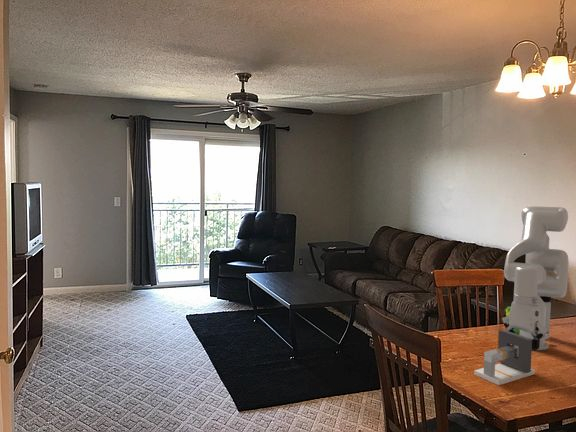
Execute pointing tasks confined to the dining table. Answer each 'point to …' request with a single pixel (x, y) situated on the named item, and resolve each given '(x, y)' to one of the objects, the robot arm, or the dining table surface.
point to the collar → (523, 352)
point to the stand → (500, 373)
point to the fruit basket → (508, 320)
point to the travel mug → (547, 311)
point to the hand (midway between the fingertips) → (522, 345)
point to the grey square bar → (501, 353)
